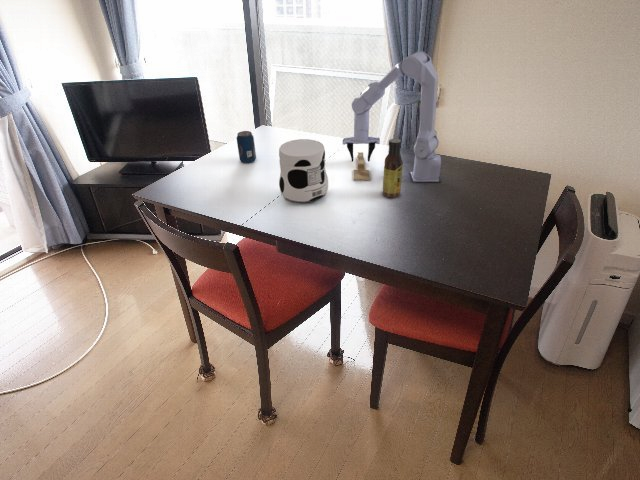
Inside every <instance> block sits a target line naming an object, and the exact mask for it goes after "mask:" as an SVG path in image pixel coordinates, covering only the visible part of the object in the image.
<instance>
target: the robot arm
mask: <svg viewBox="0 0 640 480" xmlns="http://www.w3.org/2000/svg"><path fill="white" fill-rule="evenodd" d="M432 61H433V59H432V57H431V56H430V55H429V54H427V52H425V51H422V50H418V51H416V52H414V53H413V54H410V55H408V56H406V57H404V59H402V60H401V61H399V62H398V63H397V64H395V65H394V66H393V67H392V68H391V70H389V71H388V72H387V73H386V75H384V77H383V78H381V79H380V80H379V81H374V82H370V83H369V84H368V87H367V88H366V89H365V90H364V91H361V92H360V93H359V96H358V97H355V98H353V101H352V103H351V110H352V111H353V136H350V137H342V145H346V148H347V151H348V153H349V155H350V159H351V162H354V145H359V144H360V145H365V144H366V145H367V144H368V146H367V149H368V150H367V162H370V161H371V157H372V154H373V152H374V150H375V149H376V145H380V142H381V140H380V137H373V136H369V134H370V133H369V130H370V110H371V109H372V107H373V105H374V104H376V103H377V102H378V101H379V100H380V99H381V98H382V97H383V96H384V95H385V94H386V89H387V88H388V87H389V86H391V84H393V83H394V82H395V81H397V79H399V78H400V77H405V76H406V77H408V78H410V79H412V80H415V81H416V82H417V83H418V84H420V86H421V88H420V109H419V129H418V134H417V136H416V140H415V141H416V142H415V144H414V146H413V154H414V161H413V170H412V171H410V176H411V179H412V182H413V183H439V182H440V174H441V167H442V157H441V155H440V154H436V151H435V150H436V149H438V147H439V143H440V141H439V138H438V135H437V134H438V133H437V130H436V129H435V128H436V127H435V126H436V115H437V114H436V113H437V99H438V98H437V97H438V83H439V81H438V80H439V76H438V74H437V71H436V69H435V67H434V65H433V62H432Z"/></svg>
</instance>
